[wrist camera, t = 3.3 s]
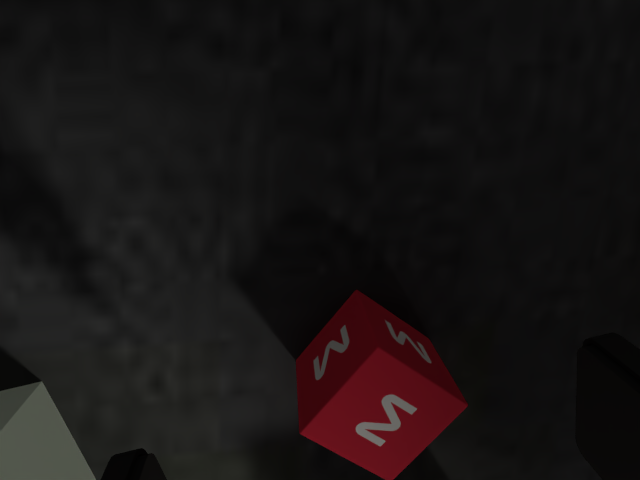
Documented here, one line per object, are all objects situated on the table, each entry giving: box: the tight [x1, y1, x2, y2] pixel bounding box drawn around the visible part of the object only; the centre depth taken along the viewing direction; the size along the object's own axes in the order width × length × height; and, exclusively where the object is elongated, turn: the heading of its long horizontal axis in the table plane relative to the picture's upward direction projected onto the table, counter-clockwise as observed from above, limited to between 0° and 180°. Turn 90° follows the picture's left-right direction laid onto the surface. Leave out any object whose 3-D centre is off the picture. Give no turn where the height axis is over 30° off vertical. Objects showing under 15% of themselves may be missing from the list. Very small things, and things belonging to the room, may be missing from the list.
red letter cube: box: [296, 290, 468, 480], centre depth 12 cm, size 3×3×3 cm
